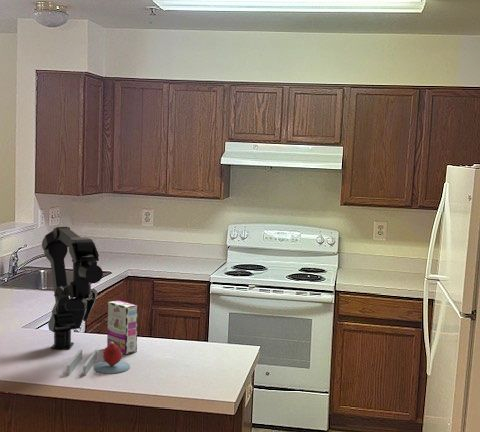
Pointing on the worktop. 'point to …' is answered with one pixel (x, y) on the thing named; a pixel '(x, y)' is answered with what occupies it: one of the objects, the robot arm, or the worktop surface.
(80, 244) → the robot arm
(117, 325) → the candy bar box
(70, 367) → the low walls
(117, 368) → the mat
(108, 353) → the onion
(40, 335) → the worktop surface
